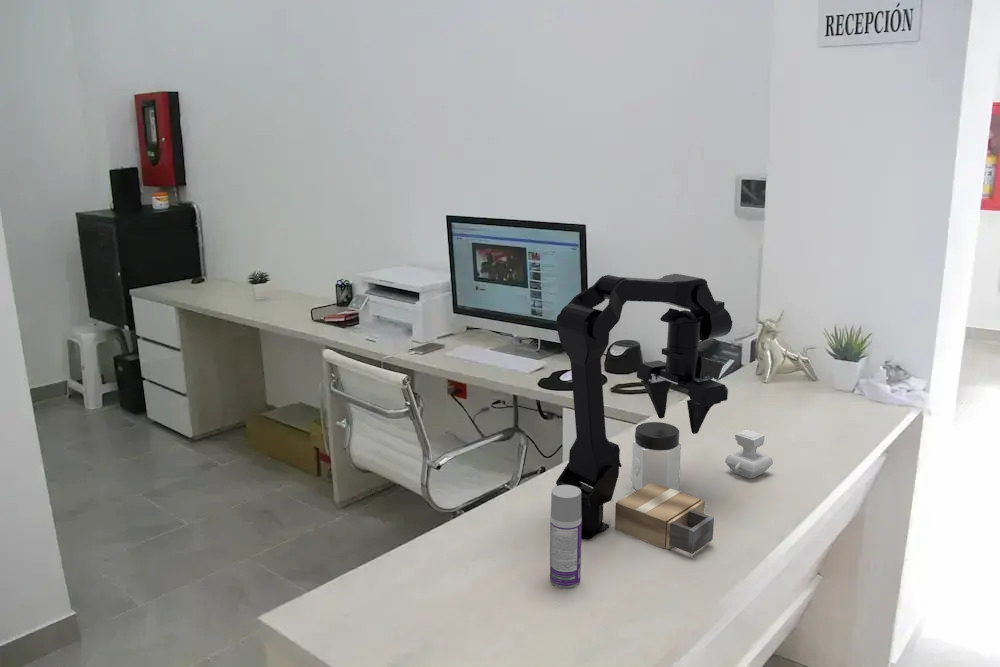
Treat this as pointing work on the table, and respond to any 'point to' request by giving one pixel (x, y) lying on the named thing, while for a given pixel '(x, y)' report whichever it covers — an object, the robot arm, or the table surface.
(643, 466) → the jar
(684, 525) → the flap
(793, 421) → the table surface
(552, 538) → the container
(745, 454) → the stamp
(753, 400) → the table surface
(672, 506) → the carton
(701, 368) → the robot arm
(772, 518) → the table surface
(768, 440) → the table surface
